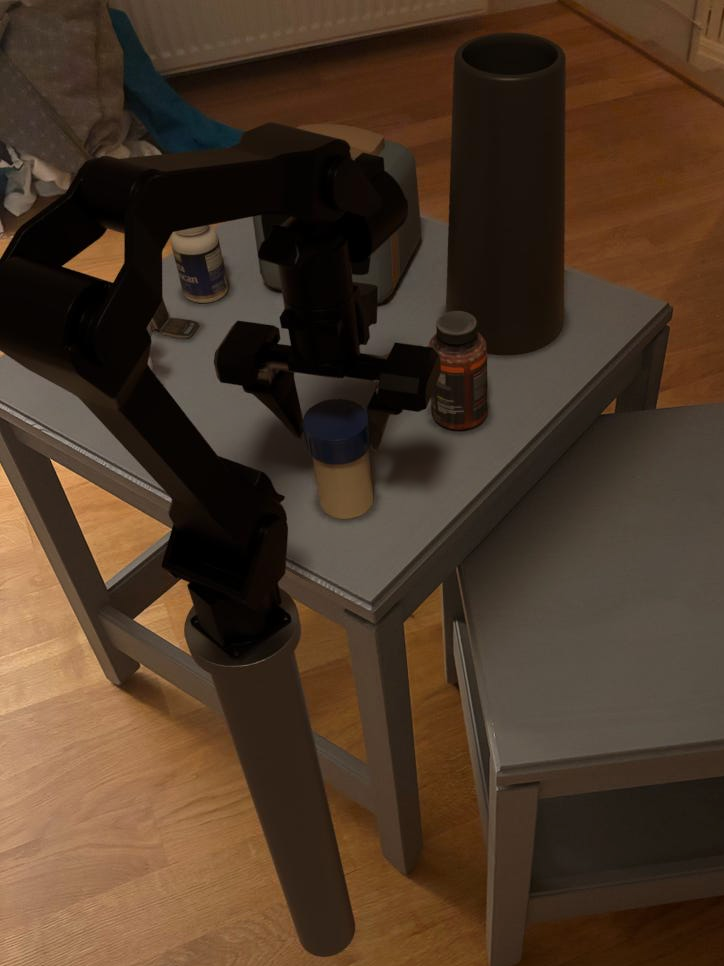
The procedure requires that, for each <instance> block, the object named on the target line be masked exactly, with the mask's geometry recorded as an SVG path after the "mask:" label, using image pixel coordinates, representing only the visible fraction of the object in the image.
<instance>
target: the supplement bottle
mask: <svg viewBox="0 0 724 966" xmlns="http://www.w3.org/2000/svg"><path fill="white" fill-rule="evenodd" d="M435 323H436V324H435V326H436V328H435V329H436V330H435V331H436V332H435V334H434V335H433V336H432V337H431V339H430V340H429V342H428V346H427V347H432V348H434V349H435V350H436V352H437V353H438V355H439V356H440V359H441V374H440V376H439V379H438V381H437V384H436V386H435V388H434V391H433V393H432V396H431V398H430V407H431V416H432V417H433V419H434V421H435V422H436V423H437V424H438V425H440V426H441V427H443V428H446V429H449V430H453V431H454V430H456V431H464V430H469V429H472V428H475V427H477V426H479V425H480V424H481V423H482V422H483V421H484V420H485V419H486V417H487V414H488V406H489V405H488V402H489V400H488V397H489V396H488V395H489V394H488V353H487V345H486V342H485V340H484V338H483V336H482V335H481V334H479V333H478V330H477V321H476V319H475V317H474V316H473V315H471V314H469V313H467V312H463V311H451V312H448V313H446V312H445V313H443V314H441V315H440V316H439V317H438V318H437V320H436V322H435Z"/></svg>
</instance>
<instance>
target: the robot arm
mask: <svg viewBox="0 0 724 966" xmlns="http://www.w3.org/2000/svg"><path fill="white" fill-rule="evenodd" d="M350 149H351V148H350V145H349V143H348V142H346V141H345V140H342V139H338V138H334V137H330V136H326V135H322V134H318V133H314V132H310V131H306V130H302V129H298V127H294V126H289V125H285V124H282V123H277V122H274V121H270V122H266V123H264V124H261V125H259V126H256V127H254V128H251V129H249V130H246V131H243V133H242V134H241V135H240V136H239V140H238V142H237V143H236V144H234V145H231V146H229V147H221V148H210V149H201V150H200V149H199V150H190V151H189V150H188V151H181V152H172V153H171V152H170V153H160V154H152V155H142V156H132V157H122V158H119V157H114V156H110V155H103V156H99V157H93V158H90V159H87V160H86V161H85V162H84V163H83V164H82V166H80V167H79V169H78V171H77V173H76V174H75V176H74V177H73V179H72V181H71V183H70V185H69V186H68V188H67V190H66V191H65V192H64V193H63V194H62V195H61V196H59V197H58V198H57V199H55V200H54V201H52V202H51V203H50V204H48V205H47V206H45V207H44V208H43V209H42V210H41V211H39V212H37V213H36V214H35V215H34V216H32V217H31V218H29V219H28V220H27V221H26V222H24V223H23V224H21V225H20V226H19V228H18V229H17V230H16V231H15V233H14V234H13V236H12V238H11V239H10V242H8V245H7V246H6V248H5V250H4V251H3V253H2V255H1V257H0V352H1V353H2V354H4V355H6V356H7V357H9V358H10V359H12V360H13V361H15V362H16V363H18V365H21V366H22V367H24V368H25V369H26V370H28V371H30V372H32V373H33V374H35V375H37V376H39V377H41V378H43V379H45V380H47V381H48V382H50V383H52V384H54V385H56V386H58V387H59V388H61V389H64V390H65V391H67V392H69V393H70V394H72V395H73V396H75V397H77V398H78V399H79V400H80V401H81V403H83V404H84V405H85V406H86V408H87V409H88V410H89V411H90V412H91V413H92V414H93V415H94V416H95V417H96V418H97V420H98V421H100V423H101V424H102V425H103V426H104V427H105V428H106V430H107V431H109V432H110V434H111V435H112V436H113V437H114V438H115V439H116V440H117V441H118V442H119V443H120V444H121V446H123V448H124V449H125V450H126V451H127V452H128V453H129V454H130V455H131V456H132V457H133V458H134V459H135V461H136V462H137V463H138V464H139V465H140V466H141V467H142V468H143V469H144V470H145V471H146V472H147V473H148V474H149V476H150V477H152V479H153V481H155V482H156V483H157V484H158V485H159V487H161V489H162V490H163V491H164V492H165V493H166V494H167V495H168V496H169V498H170V499H171V500H170V504H169V508H168V512H167V513H168V517H169V519H170V521H171V522H172V527H171V531H170V534H169V538H168V541H167V545H166V548H165V551H164V555H163V558H162V562H161V568H162V569H163V570H164V571H165V572H166V573H167V574H168V575H169V576H170V577H172V578H174V579H179V580H182V581H184V582H187V585H186V587H187V589H188V592H189V596H190V599H191V602H192V606H193V605H194V608H195V611H196V615H195V616H193V617H192V618H191V620H190V622H191V625H192V626H193V627H194V628H195V629H196V630H197V631H199V632H200V633H201V634H202V635H203V636H204V637H206V638H207V639H208V640H209V641H210V642H211V643H213V644H214V645H215V646H216V647H217V648H218V649H220V650H221V651H222V652H223V653H224V654H226V655H227V656H228V657H229V658H230V659H231V660H233V661H239V660H241V659H242V658H243V657H245V656H246V655H247V654H249V653H250V652H252V651H253V650H254V649H256V648H257V647H258V646H260V645H261V644H262V643H264V642H265V641H267V640H268V639H269V638H271V637H272V636H273V635H275V634H276V633H277V632H279V631H280V630H282V629H283V628H284V627H286V626H287V625H288V624H290V623H291V621H292V619H291V616H290V614H288V613H287V612H286V611H285V610H283V609H282V608H281V607H280V606H279V605H280V604H281V603H282V599H281V594H280V590H279V587H280V586H279V582H281V580H282V579H283V577H284V576H285V575H286V570H287V556H288V554H287V553H288V541H289V539H288V538H289V525H288V516H287V513H286V512H287V511H286V510H285V507H284V505H283V504H282V502H283V501H284V500H285V499H286V496H285V495H283V494H280V493H279V492H278V491H277V490H276V488H275V486H274V484H273V482H272V479H271V477H269V476H268V475H267V474H266V473H265V472H264V471H262V470H260V469H257V468H253V467H250V466H248V465H246V464H242V463H240V462H237V461H234V460H231V459H230V458H226V457H223V456H220V455H218V453H216V451H215V450H214V448H212V446H211V445H210V443H209V442H208V441H207V440H206V438H205V437H204V436H203V435H202V433H201V432H200V431H199V430H198V428H197V427H196V426H195V424H194V423H193V422H192V420H191V419H190V418H189V417H188V415H187V414H186V412H185V411H184V410H183V409H182V407H180V405H179V404H178V402H177V401H176V400H175V398H174V397H173V396H172V395H171V393H170V392H169V391H168V389H167V388H166V387H165V385H164V384H163V383H162V382H161V380H160V379H159V378H158V376H157V375H156V374H155V373H154V371H153V369H152V370H151V369H150V367H149V365H148V360H149V356H150V354H151V353H150V352H151V349H152V348H151V347H152V336H151V337H150V334H149V332H148V330H147V327H148V325H149V323H150V321H151V320H152V318H153V316H154V314H155V312H156V311H157V309H158V307H159V305H160V303H161V300H162V298H163V250H164V249H165V247H166V245H167V243H168V242H169V240H170V239H171V235H172V233H173V232H176V231H181V230H186V229H191V228H197V227H202V226H207V225H209V226H212V225H217V224H223V223H226V222H232V221H237V220H242V219H248V218H253V216H258V215H264V214H269V213H271V214H279V215H284V216H289V217H290V218H289V219H288V220H286V221H285V222H284V223H283V224H282V225H276V224H274V225H273V226H272V228H271V231H270V234H269V235H268V237H267V238H266V239H265V240H264V241H263V242H262V243H261V246H260V249H259V251H258V252H257V259H258V258H259V259H260V260H263V261H266V262H270V263H273V264H277V265H278V270H279V276H280V282H281V288H282V290H281V294H282V301H283V306H284V307H283V308H284V309H283V311H282V312H281V314H280V316H279V323H280V328H281V329H284V330H285V329H286V330H288V337H289V343H290V344H283V343H279V342H280V341H281V339H282V337H281V333H280V328H279V327H278V326H275V325H274V324H267V323H261V322H259V323H258V322H251V321H244V320H236V321H235V322H234V324H233V325H232V326H231V327H230V328H229V330H228V332H227V333H226V335H225V336H224V338H223V339H222V341H221V343H220V344H219V345H218V347H217V349H216V350H215V352H214V355H213V364H214V370H215V374H216V378H217V380H218V381H219V382H220V383H222V384H227V385H235V386H240V387H242V389H243V392H244V393H247V394H250V395H252V396H254V397H255V398H256V399H257V400H258V401H259V402H260V403H262V404H263V405H264V406H265V407H266V408H267V409H268V410H269V411H271V412H272V414H273V415H274V416H275V417H276V418H277V419H278V420H279V421H280V422H281V423H282V424H283V426H284V427H285V428H286V429H287V430H288V431H289V432H290V433H291V434H292V436H294V438H296V439H302V437H303V436H304V433H303V417H304V416H303V413H302V409H301V404H300V403H301V402H300V399H299V395H298V390H297V385H296V381H295V374H296V373H297V374H301V375H308V376H309V375H310V376H314V377H322V378H323V377H324V378H330V379H336V380H343V379H345V378H351V379H357V380H364V381H372V382H373V386H374V387H373V388H374V391H373V393H372V395H371V398H370V400H369V401H368V404H367V406H366V411H367V414H368V424H369V433H370V442H371V448H372V450H373V451H376V452H377V451H378V450H379V448H380V446H381V443H382V440H383V437H384V434H385V431H386V427H387V424H388V421H389V418H390V415H391V416H398V415H400V414H402V413H403V411H410V412H416V413H419V412H422V411H424V410H426V409H427V408H428V405H429V402H430V401H431V396H432V393H433V391H434V388H435V386H436V384H437V381H438V379H439V376H440V374H441V359H440V356H439V355H438V353H437V352H436V350H435V349H434V348H432V347H428V346H423V345H417V344H409V343H404V342H402V343H401V342H397V341H396V342H394V343H393V345H392V347H391V350H390V352H388V353H386V354H384V355H378V354H377V355H375V354H370V353H364V352H363V353H362V352H361V347H360V346H361V345H362V346H367V344H368V343H369V340H370V338H371V334H370V327H371V326H372V325H376V324H377V323H378V303H377V300H378V287H377V286H376V285H372V284H365V283H357V282H353V279H352V269H351V262H353V263H358V262H362V261H365V260H366V259H368V258H369V257H370V256H371V255H372V254H373V253H374V252H375V251H376V250H377V249H378V248H379V247H381V246H382V245H383V244H384V243H385V242H386V241H387V240H388V239H389V238H390V237H391V236H392V235H393V234H394V233H395V232H396V231H397V230H398V229H399V228H400V227H401V226H402V225H403V224H404V222H405V221H406V218H407V215H408V201H407V199H406V198H405V196H404V193H403V191H402V189H401V187H400V185H399V184H398V183H397V181H396V180H395V179H394V178H393V177H392V176H391V175H390V174H389V173H387V172H386V171H385V168H384V158H383V157H379V156H375V155H371V154H367V153H361V154H360V155H359V156H358V157H357V158H356V159H355V160H352V159H351V153H350ZM108 230H110V231H114V232H117V233H120V234H123V235H124V241H123V242H124V243H123V246H124V247H123V249H124V250H123V251H124V253H123V255H124V256H123V264H122V266H121V268H120V270H119V271H118V273H117V275H116V277H115V279H114V280H113V282H112V281H109V280H107V279H104V278H100V277H96V276H93V275H91V274H87V273H84V272H81V271H77V270H74V269H71V268H68V267H65V266H64V265H66V264H68V263H69V262H70V261H71V260H73V259H74V258H76V257H77V256H78V255H80V254H81V253H82V252H84V251H85V250H86V249H87V248H89V247H90V246H91V245H93V244H94V243H96V242H97V241H98V240H100V239H101V238H103V236H104V235H105V233H106V232H107V231H108ZM285 618H287V619H286V620H284V619H285ZM195 621H198V622H195ZM236 654H238V655H237V656H234V655H236Z"/></svg>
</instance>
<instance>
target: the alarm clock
mask: <svg viewBox="0 0 724 966" xmlns="http://www.w3.org/2000/svg"><path fill="white" fill-rule="evenodd" d="M297 128H298V129H302V130H306V131H310V132H314V133H318V134H322V135H326V136H330V137H334V138H338V139H342V140H345V141H346V142H348V143H349V145H350V148H351V149H350V153H351V159H352V160H355V159H356V158H357V157H358V156H359V155H360V154H361V153H367V154H371V155H375V156H379V157H383V158H384V168H385V171H386V172H387V173H389V174H390V175H391V176H392V177H393V178H394V179H395V180H396V181H397V183H398V184H399V185H400V187H401V189H402V191H403V193H404V196H405V198H406V199H407V201H408V215H407V218H406V221H405V222H404V224H403V225H402V226H401V227H400V228H399V229H398V230H397V231H396V232H395V233H394V234H393V235H392V236H391V237H390V238H389V239H388V240H387V241H386V242H385V243H384V244H383V245H382V246H381V247H379V248H378V249H377V250H376V251H375V252H374V253H373V254H372V255H371V256H370V257H369V258H368V259H366V260H365V261H362V262H358V263H353V262H351V269H352V279H353V282H357V283H365V284H372V285H376V286H377V287H378V300H377V304H382V303H383V302H384V301H386V300H387V299H388V298H389V297H390V296H392V294H393V292H394V289H395V288H396V286H397V284H398V283H399V280H400V278H401V277H402V275H403V273H404V271H405V269H406V267H407V265H408V263H409V261H410V259H411V257H412V255H413V254H414V252H415V250H416V248H417V246H418V244H419V242H420V240H421V235H422V221H421V211H420V199H419V188H418V186H419V185H418V176H417V163H416V159H415V156H414V154H413V152H412V151H411V150H409V148H408V147H406V146H405V145H403V144H401V143H399V142H397V141H391V140H388V139H385V136H384V135H383V134H380V133H377V132H374V131H371V130H368V129H365V128H360V127H357V126H351V125H345V124H337V123H313V124H306V125H305V124H304V125H299V126H297ZM289 218H290V217H289V216H284V215H279V214H271V213H269V214H264V215H258V216H253V217H252V223H253V230H254V237H255V245H256V252H257V253H258V251H259V249H260V246H261V243H262V242H263V241H264V240H265V239H266V238H267V237H268V235H269V234H270V231H271V228H272V226H273V225H274V224H276V225H282V224H283V223H284V222H285V221H286V220H288V219H289ZM257 259H258V265H259V266H258V267H259V273H260V276H261V278H262V280H263V281H264V282H265V284H266V285H267V286H268V287H270V288H272V289H274V290H277V291H282V288H281V282H280V276H279V270H278V265H277V264H273V263H270V262H266V261H263V260H260V259H259V258H258V257H257Z"/></svg>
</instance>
